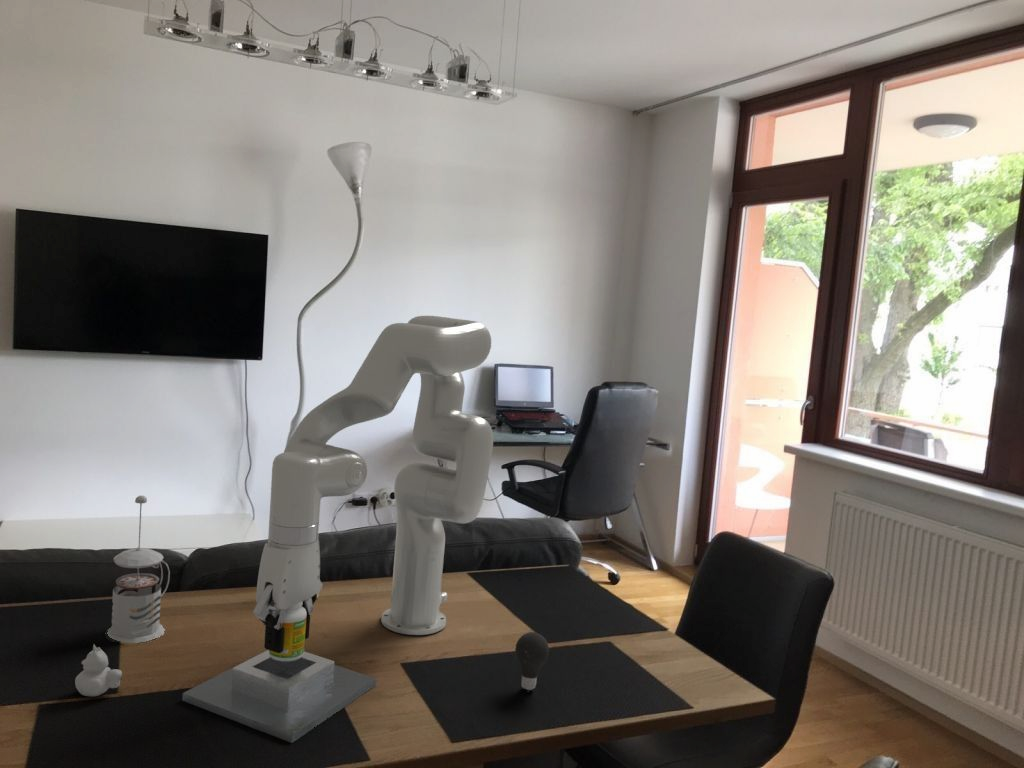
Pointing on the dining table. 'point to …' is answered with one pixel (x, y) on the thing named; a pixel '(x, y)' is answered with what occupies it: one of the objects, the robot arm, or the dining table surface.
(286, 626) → the supplement bottle
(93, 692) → the rubber duck
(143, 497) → the french press
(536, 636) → the light bulb
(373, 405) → the robot arm
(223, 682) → the collar plate
